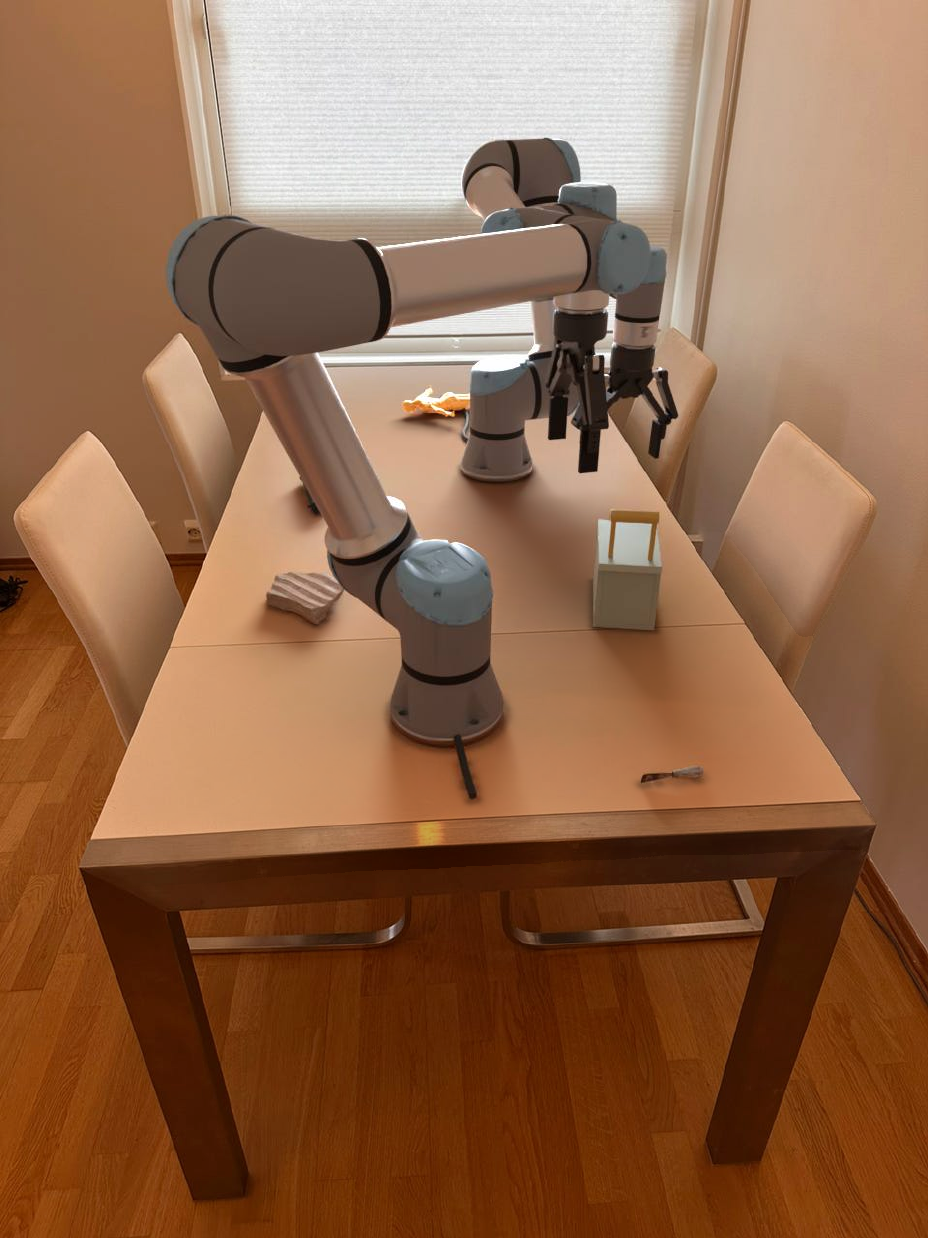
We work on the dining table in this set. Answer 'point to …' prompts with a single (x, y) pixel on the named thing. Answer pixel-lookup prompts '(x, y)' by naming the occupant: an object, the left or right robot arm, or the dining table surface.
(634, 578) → the chest
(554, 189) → the right robot arm
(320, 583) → the stone
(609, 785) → the dining table surface
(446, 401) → the human figure
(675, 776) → the putty knife
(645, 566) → the lid
